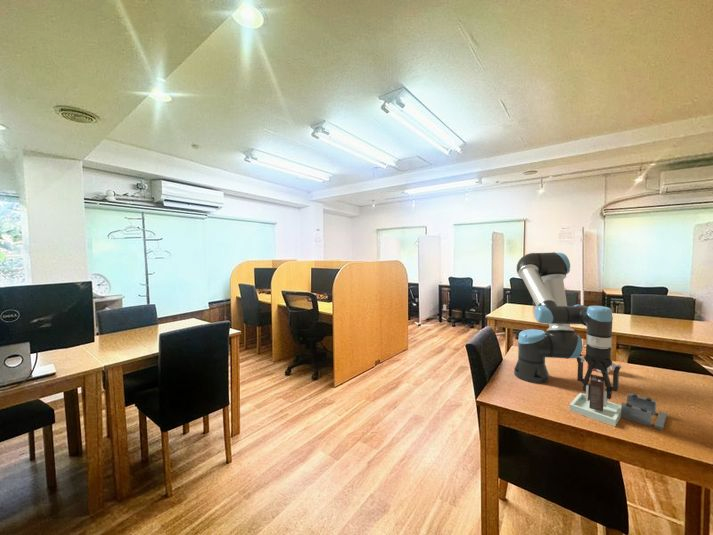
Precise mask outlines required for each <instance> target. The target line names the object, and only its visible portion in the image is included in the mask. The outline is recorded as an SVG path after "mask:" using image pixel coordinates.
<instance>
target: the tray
mask: <svg viewBox="0 0 713 535" xmlns="http://www.w3.org/2000/svg"><path fill="white" fill-rule="evenodd" d="M603 403H604V400H603ZM589 406H590V400H589V401H586V393H584V392H583V393H582V392H579V393H578V394H577V395H576V397H574V399H573V400H572V401H570V403H569V408H568V409H569V411H570V412H573V413H575V414H578V415H581V416H584V417H587V418H589V419H592V420H594V421H597V422H600V423H604V424H606V425H608V424H609V426H611V425H612V427H614V426H617V425H618V423H619V421H620V420H621V418H622V417H621V404H619V403H614V402H611V401H609V400H608V405H607V407H603V412H602V411H598V410H594V409H591V408H589ZM616 424H617V425H616Z"/></svg>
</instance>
